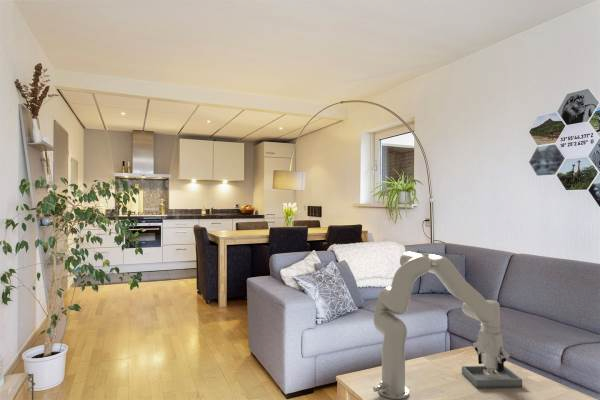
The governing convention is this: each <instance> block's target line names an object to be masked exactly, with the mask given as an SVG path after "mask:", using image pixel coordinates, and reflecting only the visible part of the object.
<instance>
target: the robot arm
mask: <svg viewBox="0 0 600 400" xmlns="http://www.w3.org/2000/svg"><path fill="white" fill-rule="evenodd" d="M399 265H400V267H398V269H396V271H395V274H393V275H394V276H393V278H392V282H391V285H390V286H387V287H385V288H383V289H382V290H381V291H380V292H379V294H378V297H377V301H376V305H375V309H374V316H373V325H374V327H375V329H376V330H377V331H378V333H380V334H382V335H383V341H382V343H381V381H379V384H378V385H375V386H373V387H372V390H373V392H378V394H379V395H381V396H383V397H385V398H387V399H391V400H403V399H406V398H407V397H409V395H410V389H409V388H408V387H407V386H406V341H407V337H408V336H407V335H408V328H407V326H406V324H405V322H404V321H403V320H402V319H401V318H399V317H398V316H396V315H404V314H405V313H407V311H408V310H409V306H410V300H411V297H412V291H413V286H414V285H415V282H416V281H417V279H419V278H420V277H421V276H423V275H425V274H427V273H430V274H433V275H435V276H436V277H437V278H438V279H439V281H440V283H442V284H443V286H444V287H445V288H446V290H447V291H448V292H449V293H450V294H451V295H452V296H453V297H455V298H457V299H458V300H460V301H462V302H463V303H462V305H461V311H462V313H464V315H465V316H468V317H470V318H471V319H474V320H476V321H478V322H479V324H478V326H480V329H479V331H478V335H477V341H475V342H473V343H472V345H473V347H474V350H475V351H476V354H477V360H478V361H477V362H478V364H479V365H483V363H482V362H481V353H485V352H486V353H489V354H490V356H492V357H495V358H497V360H498V361H499V362H498V372H501V371H503V370H504V366H505V363H506V362H507V361H508V360H509V358H510V357H511V355H510V353H509V352H507V351H506V350H505V349H504V342H503V340H504V339H503V335H502V333H501V307H500V303H499V302H498V301H496V300H494V299H493V300H492V299H486V298H485V297H484V296H483V295H482V294H481V293H480V292H479V291H478V290H476V289H475V288H474V287H473V286H472V285H471V284H470V283H469V282H468V281H467V280H466V279H465V277H463V275H461V273H460V272H459V270H458V269H457V268H456V266H454V263H452V262H451V260H450V259H449V258H447V256H441V255H437V254H432V253H421V252H416V251H406V252H404V253H402V254H401V256H400V258H399ZM500 356H501V359H500Z"/></svg>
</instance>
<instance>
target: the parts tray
mask: <svg viewBox="0 0 600 400" xmlns="http://www.w3.org/2000/svg"><path fill="white" fill-rule="evenodd" d="M483 369H488V368H486V367H485V365H463V366H461V375H462V376H463V377H464V378H466V379H467V381H468V382H470V384H472V386H473V387H474V388H475V389H512V388H513V389H517V388H521V389H522V388H523V378H521V377H520V376H518V375H517V374H516V373H514V371H512V370H510V369H509V368H508V367H507V366H506V365H504V370H503V371H501V372H498V369H496V371H497V372H498V373H499V374H500V375H501V378H489V377H487V376H486V375H485V374H484V373H483ZM490 370H493V369H490Z"/></svg>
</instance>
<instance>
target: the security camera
mask: <svg viewBox="0 0 600 400" xmlns="http://www.w3.org/2000/svg"><path fill="white" fill-rule="evenodd" d="M500 359H501V356H500ZM481 362H482V365H483V366H485V367H486V368H488V369H483V373H484V374H485V375H486V376H487V377H489V378H501V375H500V374H499V373H498V372H497V371H496V369H498V362H499V361H498V360H497V358H495V357H492V356H490V354H489V353H486V352H485V353H481ZM490 369H493V370H490Z"/></svg>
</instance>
